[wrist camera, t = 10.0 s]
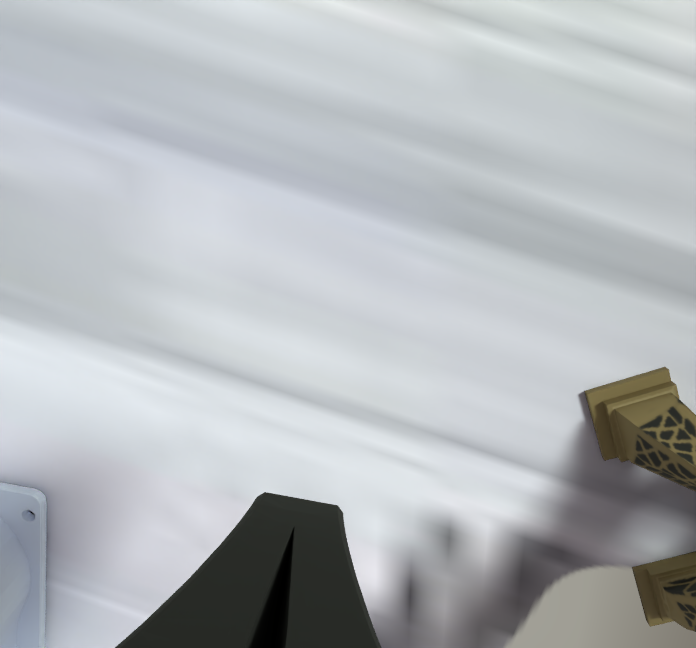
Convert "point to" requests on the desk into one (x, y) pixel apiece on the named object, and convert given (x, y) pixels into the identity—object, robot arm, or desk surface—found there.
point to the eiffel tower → (658, 457)
